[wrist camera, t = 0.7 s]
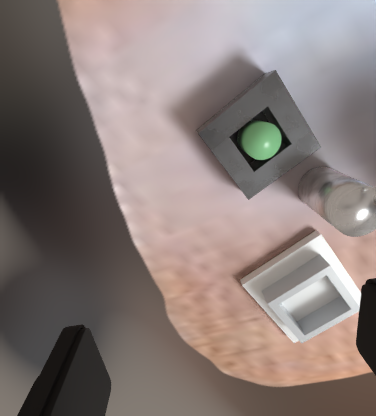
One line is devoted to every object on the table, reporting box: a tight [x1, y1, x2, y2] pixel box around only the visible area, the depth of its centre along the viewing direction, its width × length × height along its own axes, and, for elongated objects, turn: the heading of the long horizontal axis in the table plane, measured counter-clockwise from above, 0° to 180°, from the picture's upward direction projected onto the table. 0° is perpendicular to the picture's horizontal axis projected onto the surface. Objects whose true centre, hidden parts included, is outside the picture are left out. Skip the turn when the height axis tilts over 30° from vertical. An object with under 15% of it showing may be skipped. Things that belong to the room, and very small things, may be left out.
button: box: [237, 120, 281, 160], centre depth 27 cm, size 4×4×4 cm
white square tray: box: [240, 230, 361, 343], centre depth 36 cm, size 12×14×4 cm
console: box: [196, 70, 321, 200], centre depth 28 cm, size 9×9×3 cm
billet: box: [298, 167, 376, 237], centre depth 28 cm, size 5×5×8 cm
